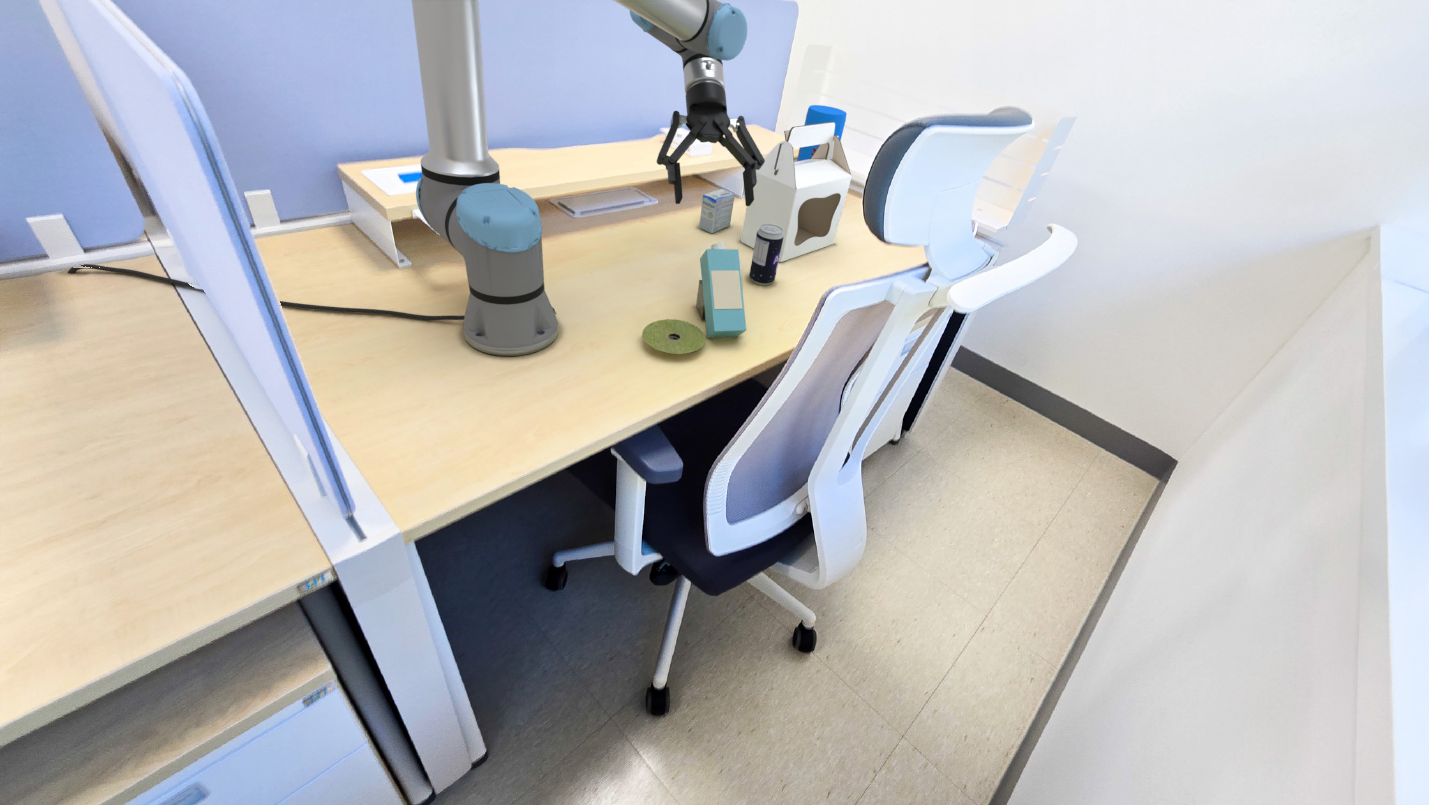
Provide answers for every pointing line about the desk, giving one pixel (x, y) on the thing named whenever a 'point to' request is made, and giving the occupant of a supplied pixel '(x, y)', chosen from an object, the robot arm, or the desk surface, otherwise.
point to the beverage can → (766, 254)
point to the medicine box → (716, 210)
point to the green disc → (673, 336)
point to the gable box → (800, 191)
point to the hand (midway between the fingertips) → (715, 202)
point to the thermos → (822, 115)
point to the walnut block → (700, 301)
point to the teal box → (722, 292)
